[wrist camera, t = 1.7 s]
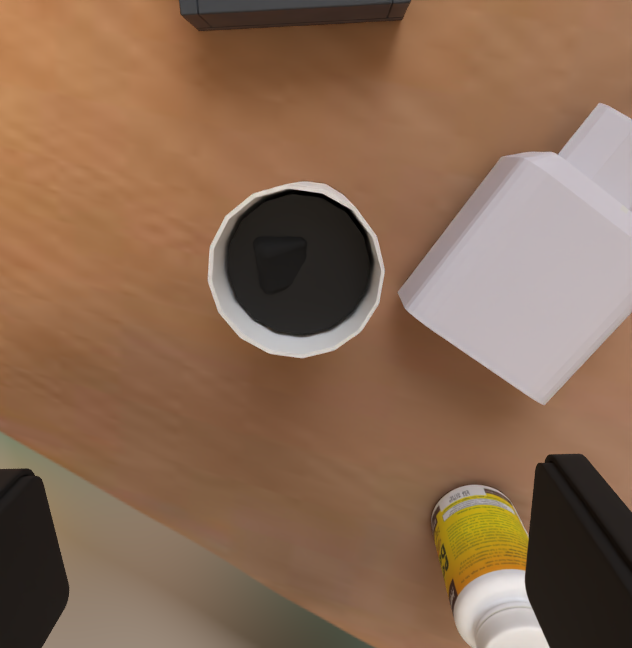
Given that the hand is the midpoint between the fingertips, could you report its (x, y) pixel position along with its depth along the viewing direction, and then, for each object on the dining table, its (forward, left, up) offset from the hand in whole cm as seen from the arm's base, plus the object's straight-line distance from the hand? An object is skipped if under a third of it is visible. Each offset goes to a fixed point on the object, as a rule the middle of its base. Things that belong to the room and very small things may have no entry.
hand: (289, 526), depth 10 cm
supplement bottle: (-9, +17, -21) cm, 28 cm away
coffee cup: (+1, -2, -21) cm, 21 cm away
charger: (-12, -2, -21) cm, 25 cm away
